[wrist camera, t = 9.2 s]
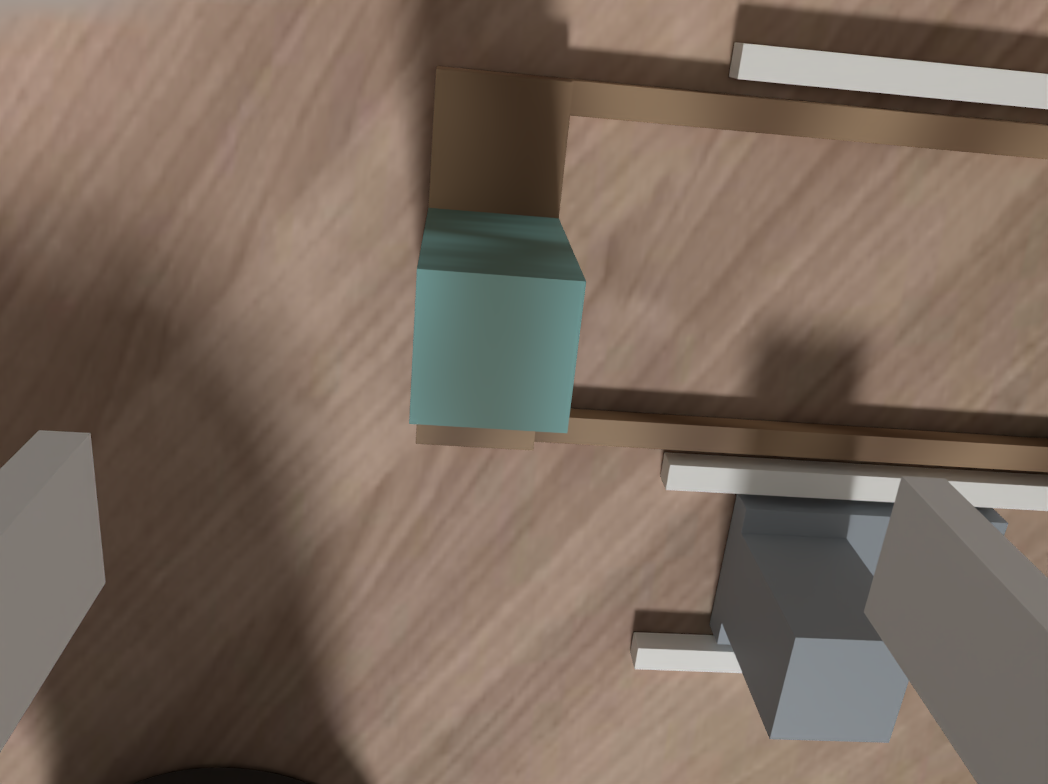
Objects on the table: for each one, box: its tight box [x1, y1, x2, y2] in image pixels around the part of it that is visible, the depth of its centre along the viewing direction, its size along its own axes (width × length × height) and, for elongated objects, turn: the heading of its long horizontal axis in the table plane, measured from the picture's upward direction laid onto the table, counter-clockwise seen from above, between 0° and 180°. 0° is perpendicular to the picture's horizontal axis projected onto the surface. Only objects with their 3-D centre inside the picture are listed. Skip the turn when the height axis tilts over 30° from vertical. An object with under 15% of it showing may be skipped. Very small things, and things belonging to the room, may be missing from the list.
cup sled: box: [409, 66, 1048, 472], centre depth 27 cm, size 30×12×8 cm, turn 85°
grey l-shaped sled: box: [710, 494, 1008, 743], centre depth 32 cm, size 10×6×7 cm, turn 85°
